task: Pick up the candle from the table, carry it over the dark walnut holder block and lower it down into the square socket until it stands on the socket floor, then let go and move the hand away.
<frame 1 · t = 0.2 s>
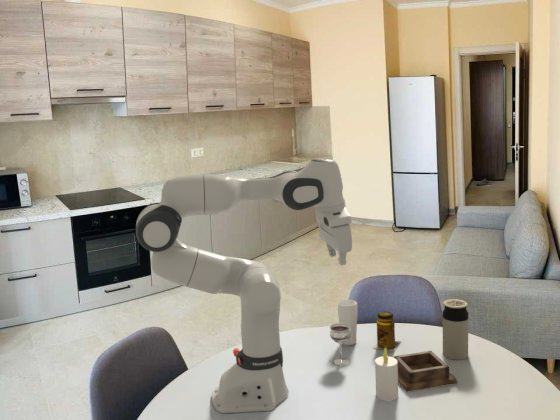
hand: (337, 260, 156), 39 cm above the table, tool pointing down, fingers open, 8 cm apart
condiment: (387, 345, 187), on the table
wineglass: (341, 362, 177), on the table
candle holder: (421, 376, 164), on the table
drinking glass: (348, 343, 191), on the table
candle: (387, 395, 155), on the table
travel mug: (455, 355, 177), on the table
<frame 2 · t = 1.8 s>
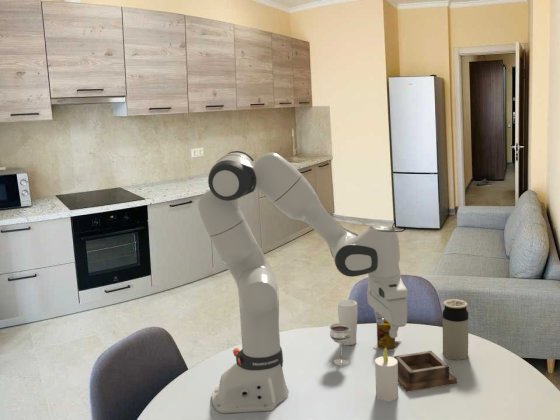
hand: (386, 330, 151), 20 cm above the table, tool pointing down, fingers open, 8 cm apart
nothing on the table moved.
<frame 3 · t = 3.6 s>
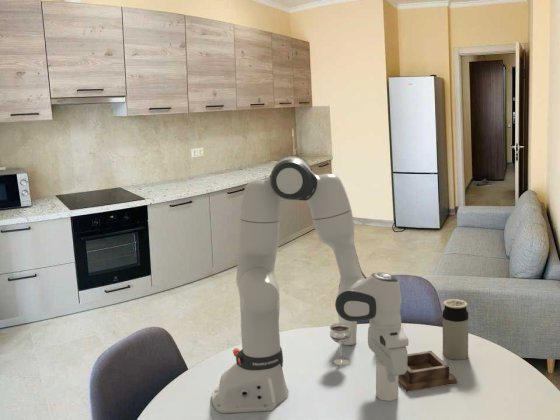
hand: (386, 375, 154), 6 cm above the table, tool pointing down, fingers open, 6 cm apart
candle: (387, 395, 155), on the table, touching gripper
everything else where it was.
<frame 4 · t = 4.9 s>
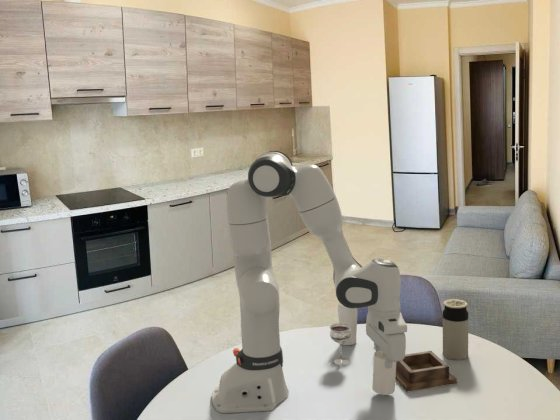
hand: (383, 362, 153), 10 cm above the table, tool pointing down, fingers closed on candle, 5 cm apart
candle: (383, 389, 155), point 2 cm above the table, touching gripper
everything else where it was.
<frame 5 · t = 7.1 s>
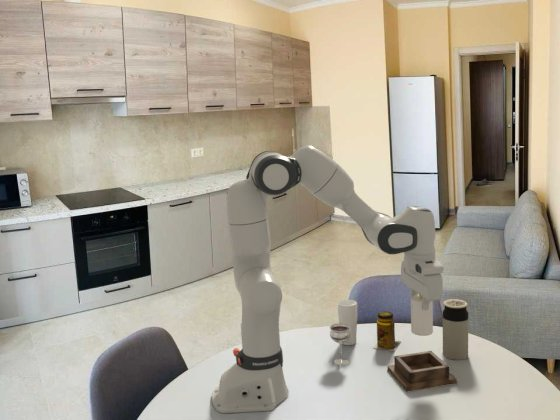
hand: (420, 305, 160), 23 cm above the table, tool pointing down, fingers closed on candle, 5 cm apart
candle: (422, 332, 162), point 14 cm above the table, touching gripper
everything else where it was.
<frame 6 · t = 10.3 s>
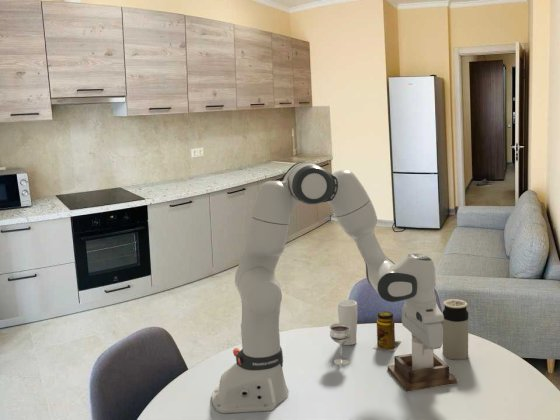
hand: (420, 350, 163), 8 cm above the table, tool pointing down, fingers closed on candle, 3 cm apart
candle: (422, 372, 164), point 1 cm above the table, touching candle holder, gripper
everything else where it was.
when the fingers open (8 cm above the table, at t = 10.4 s): candle stays where it is, resting on candle holder.
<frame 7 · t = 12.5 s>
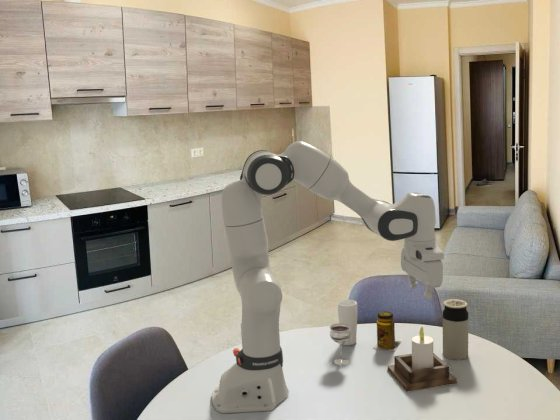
hand: (420, 293, 160), 27 cm above the table, tool pointing down, fingers open, 8 cm apart
candle: (422, 372, 164), point 1 cm above the table, touching candle holder
everything else where it was.
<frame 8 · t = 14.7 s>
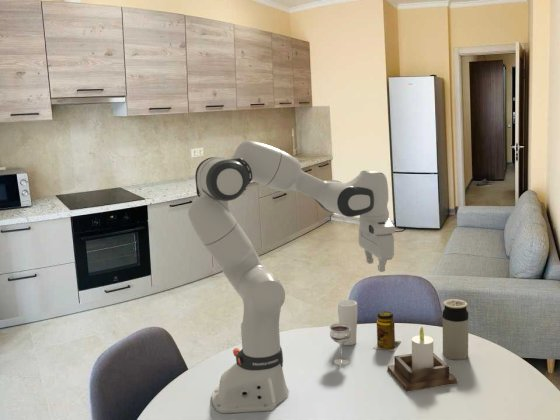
hand: (375, 267, 166), 33 cm above the table, tool pointing down, fingers open, 8 cm apart
nothing on the table moved.
at the end: candle 0.5 cm off-centre on the candle holder, point 1.3 cm above the candle holder's base; candle tilted 0°; the gripper is holding nothing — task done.
